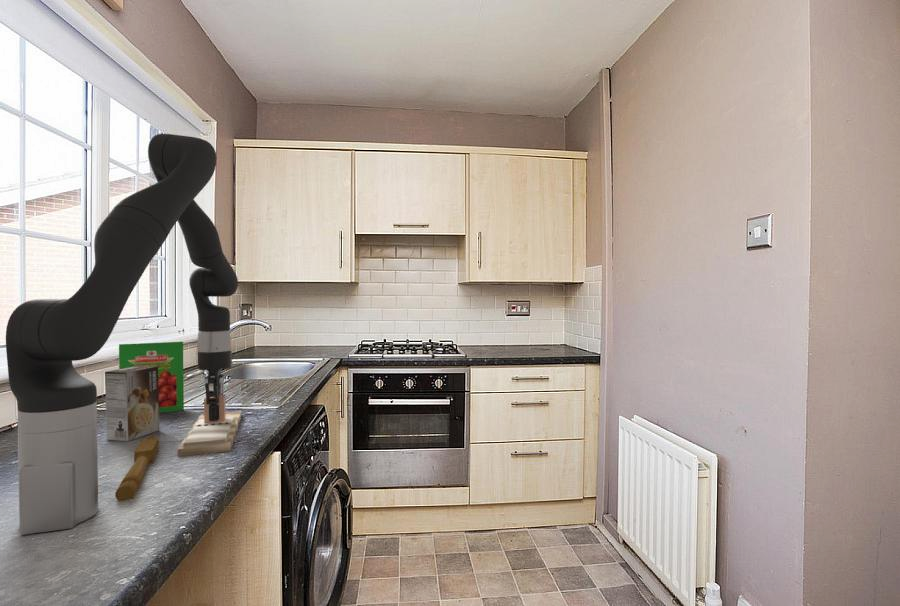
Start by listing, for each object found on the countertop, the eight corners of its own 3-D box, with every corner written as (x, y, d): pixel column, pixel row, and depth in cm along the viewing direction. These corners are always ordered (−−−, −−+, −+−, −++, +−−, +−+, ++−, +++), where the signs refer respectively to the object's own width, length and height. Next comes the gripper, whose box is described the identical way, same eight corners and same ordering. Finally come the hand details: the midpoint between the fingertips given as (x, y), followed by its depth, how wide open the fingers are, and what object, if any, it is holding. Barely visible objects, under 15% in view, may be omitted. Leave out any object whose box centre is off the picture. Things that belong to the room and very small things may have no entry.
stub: (231, 426, 115) (231, 398, 115) (194, 429, 113) (194, 400, 112) (234, 420, 121) (233, 393, 121) (199, 423, 118) (198, 395, 118)
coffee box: (138, 428, 118) (137, 365, 118) (160, 430, 117) (159, 366, 117) (105, 440, 109) (104, 371, 109) (128, 441, 108) (127, 372, 108)
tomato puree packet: (119, 417, 129) (118, 344, 129) (120, 416, 130) (119, 344, 130) (183, 410, 137) (183, 341, 137) (183, 409, 138) (183, 341, 138)
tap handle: (113, 486, 77) (144, 435, 104) (114, 505, 77) (144, 448, 104) (136, 483, 78) (160, 433, 106) (136, 501, 78) (160, 446, 106)
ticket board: (230, 450, 102) (229, 438, 102) (177, 456, 99) (177, 443, 99) (241, 416, 130) (241, 406, 130) (201, 419, 127) (200, 409, 127)
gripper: (228, 351, 111) (228, 424, 111) (234, 345, 124) (234, 410, 125) (192, 353, 108) (193, 427, 109) (202, 346, 122) (202, 413, 122)
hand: (215, 418), depth 117 cm, fingers closed on stub, 3 cm apart
